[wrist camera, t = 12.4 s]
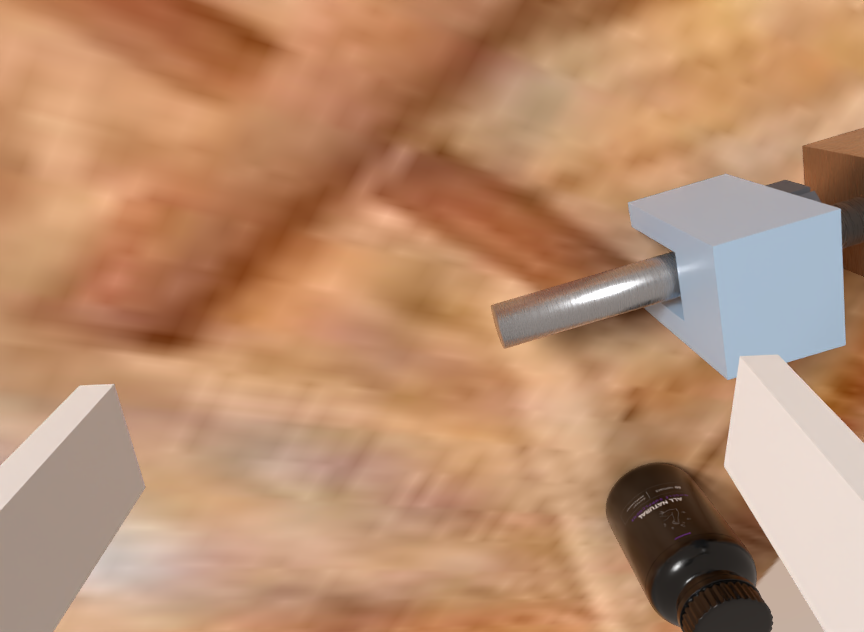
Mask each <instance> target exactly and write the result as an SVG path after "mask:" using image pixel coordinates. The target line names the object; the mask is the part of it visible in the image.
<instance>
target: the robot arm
mask: <svg viewBox="0 0 864 632" xmlns="http://www.w3.org/2000/svg"><path fill="white" fill-rule="evenodd" d="M724 467H725V469H726V470H727V472H728V474H729V475H730V477H731V479H732V480H733V482H734V483H735V485H736V487H737V488H738V490H739V492H740V493H741V495H742V497H743V498H744V500H745V502H746V503H747V505H748V506H749V508H750V510H751V511H752V513H753V515H754V516H755V518H756V520H757V521H758V523H759V525H760V526H761V528H762V529H763V531H764V533H765V534H766V536H767V538H768V539H769V541H770V543H771V544H772V546H773V548H774V549H775V551H776V553H777V554H778V556H779V557H780V559H781V561H782V562H783V564H784V565H785V567H786V569H787V571H788V572H789V574H790V576H791V577H792V579H793V580H794V582H795V584H796V585H797V587H798V589H799V590H800V592H801V593H802V595H803V597H804V599H805V600H806V602H807V603H808V605H809V607H810V608H811V610H812V612H813V613H814V615H815V616H816V618H817V620H818V622H819V623H820V625H821V626H822V628H823V630H824V631H825V632H864V443H863V442H862V441H861V440H860V439H859V438H858V437H857V436H856V435H855V434H854V433H853V432H852V431H851V430H850V429H849V427H848V426H847V425H846V424H845V423H844V422H843V421H842V420H841V419H840V418H839V417H838V416H837V415H836V414H835V413H834V412H833V411H832V410H831V409H830V408H829V407H828V406H827V405H826V404H825V403H824V402H823V401H822V400H821V398H820V397H819V396H818V395H817V394H816V393H815V392H814V391H813V390H812V389H811V388H810V387H809V386H808V385H807V384H806V383H805V382H804V381H803V380H802V379H801V378H800V377H799V376H798V375H797V374H796V373H795V372H794V371H793V369H792V368H791V367H790V366H789V365H788V364H787V363H786V362H785V361H784V360H783V359H782V358H781V357H780V356H779V355H778V354H777V355H754V356H740V358H739V365H738V372H737V379H736V386H735V392H734V399H733V406H732V413H731V420H730V427H729V434H728V441H727V448H726V455H725V462H724ZM144 489H145V484H144V481H143V478H142V474H141V471H140V468H139V464H138V461H137V458H136V454H135V451H134V448H133V444H132V441H131V438H130V434H129V431H128V428H127V424H126V421H125V418H124V414H123V411H122V408H121V404H120V401H119V398H118V394H117V391H116V388H115V384H104V385H81V386H79V387H78V388H77V389H76V390H75V391H74V392H73V393H72V394H71V395H70V396H69V397H68V398H67V399H66V400H65V401H64V402H63V403H62V404H61V405H60V406H59V407H58V408H57V409H56V410H55V411H54V412H53V413H52V414H51V415H50V416H49V417H48V418H47V419H46V420H45V421H44V422H43V423H42V424H41V425H40V426H39V427H38V428H37V429H36V430H35V431H34V432H33V433H32V434H31V435H30V436H29V437H28V438H27V439H26V440H25V441H24V442H23V443H22V444H21V445H20V446H19V447H18V448H17V449H16V450H15V451H14V452H13V453H12V454H11V455H10V456H9V457H8V458H7V459H6V460H5V461H4V462H3V463H2V464H1V465H0V632H53V631H54V630H55V628H56V627H57V625H58V624H59V622H60V620H61V619H62V617H63V616H64V614H65V613H66V611H67V609H68V608H69V606H70V605H71V603H72V602H73V600H74V599H75V597H76V595H77V594H78V592H79V591H80V589H81V588H82V586H83V584H84V583H85V581H86V580H87V578H88V577H89V575H90V573H91V572H92V570H93V569H94V567H95V566H96V564H97V563H98V561H99V559H100V558H101V556H102V555H103V553H104V552H105V550H106V548H107V547H108V545H109V544H110V542H111V541H112V539H113V537H114V536H115V534H116V533H117V531H118V530H119V528H120V527H121V525H122V523H123V522H124V520H125V519H126V517H127V516H128V514H129V512H130V511H131V509H132V508H133V506H134V505H135V503H136V501H137V500H138V498H139V497H140V495H141V494H142V492H143V490H144Z"/></svg>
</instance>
